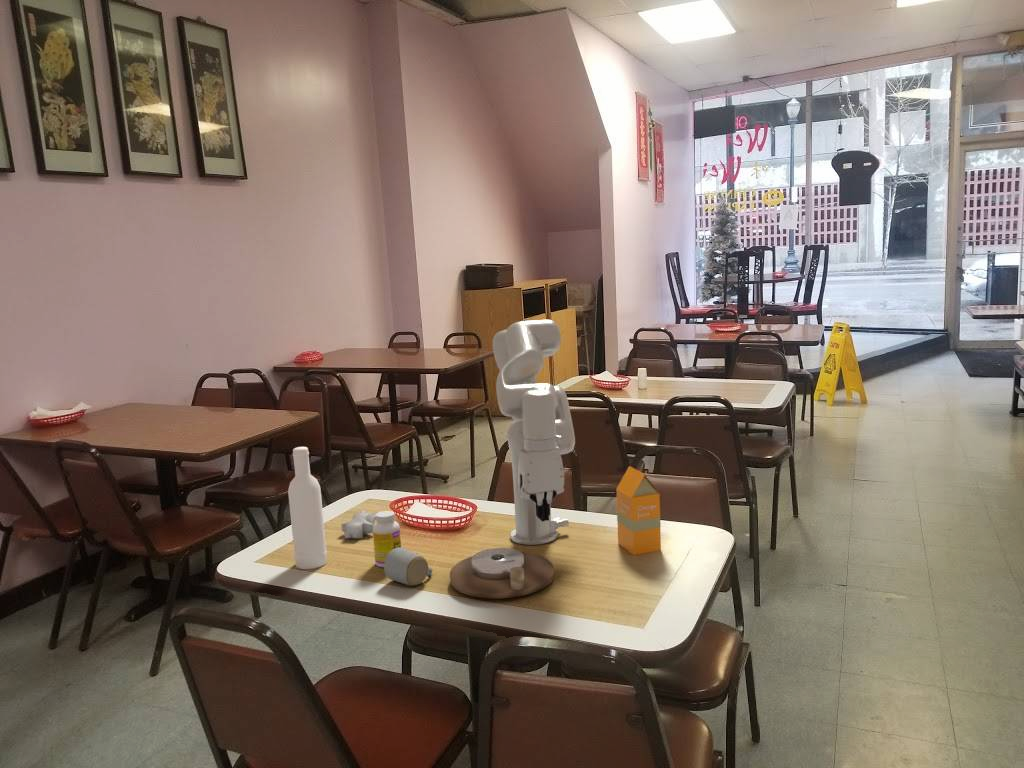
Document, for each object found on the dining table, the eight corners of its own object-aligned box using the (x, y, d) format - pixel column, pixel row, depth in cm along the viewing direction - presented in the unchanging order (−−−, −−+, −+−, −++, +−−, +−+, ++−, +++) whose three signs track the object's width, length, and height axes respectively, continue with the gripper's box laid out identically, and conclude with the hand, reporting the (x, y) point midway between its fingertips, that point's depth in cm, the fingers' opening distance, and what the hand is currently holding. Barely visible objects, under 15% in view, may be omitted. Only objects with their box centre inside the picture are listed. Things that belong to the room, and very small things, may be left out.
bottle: (333, 562, 196) (323, 446, 191) (306, 572, 190) (294, 453, 185) (316, 555, 201) (305, 443, 196) (289, 565, 195) (277, 449, 191)
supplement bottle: (396, 568, 189) (392, 518, 187) (371, 568, 191) (367, 518, 189) (406, 558, 196) (402, 509, 194) (381, 557, 197) (377, 509, 195)
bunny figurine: (333, 527, 211) (356, 503, 225) (336, 544, 212) (358, 519, 226) (366, 528, 209) (386, 504, 223) (368, 545, 210) (388, 520, 224)
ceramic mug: (408, 591, 175) (406, 559, 174) (384, 584, 180) (382, 552, 179) (441, 576, 184) (439, 545, 183) (416, 569, 189) (414, 539, 188)
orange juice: (644, 538, 201) (642, 463, 198) (661, 550, 192) (659, 472, 189) (617, 543, 198) (614, 467, 195) (633, 555, 190) (630, 476, 187)
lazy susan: (531, 550, 194) (530, 529, 193) (571, 585, 172) (570, 562, 171) (438, 567, 186) (437, 545, 185) (467, 607, 164) (466, 582, 163)
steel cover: (514, 556, 186) (514, 544, 186) (531, 574, 175) (530, 561, 175) (466, 565, 183) (465, 552, 182) (480, 584, 171) (479, 570, 171)
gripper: (563, 435, 184) (566, 508, 187) (504, 444, 179) (508, 519, 183) (576, 443, 177) (579, 519, 180) (515, 452, 172) (519, 530, 176)
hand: (543, 519), depth 181 cm, fingers closed
